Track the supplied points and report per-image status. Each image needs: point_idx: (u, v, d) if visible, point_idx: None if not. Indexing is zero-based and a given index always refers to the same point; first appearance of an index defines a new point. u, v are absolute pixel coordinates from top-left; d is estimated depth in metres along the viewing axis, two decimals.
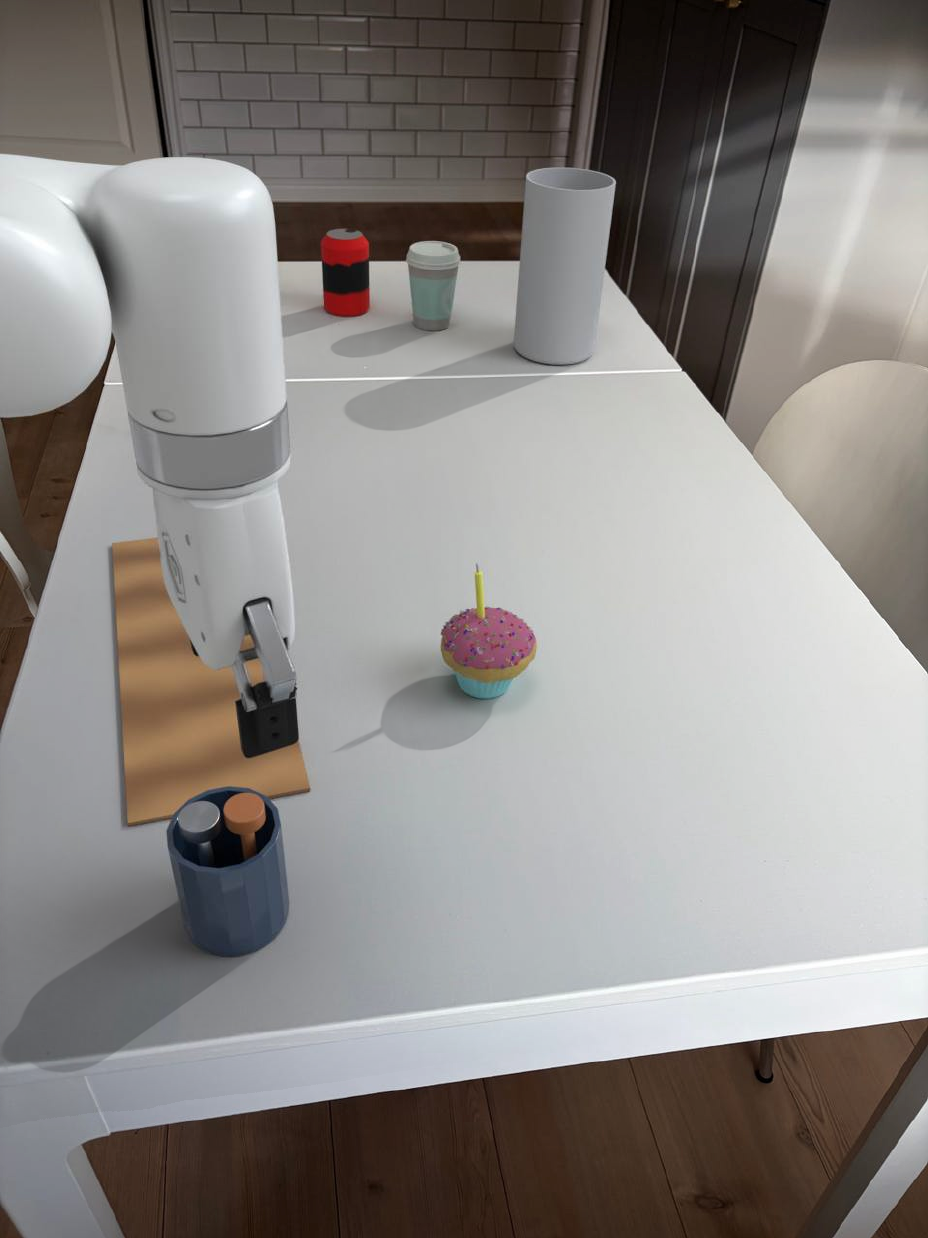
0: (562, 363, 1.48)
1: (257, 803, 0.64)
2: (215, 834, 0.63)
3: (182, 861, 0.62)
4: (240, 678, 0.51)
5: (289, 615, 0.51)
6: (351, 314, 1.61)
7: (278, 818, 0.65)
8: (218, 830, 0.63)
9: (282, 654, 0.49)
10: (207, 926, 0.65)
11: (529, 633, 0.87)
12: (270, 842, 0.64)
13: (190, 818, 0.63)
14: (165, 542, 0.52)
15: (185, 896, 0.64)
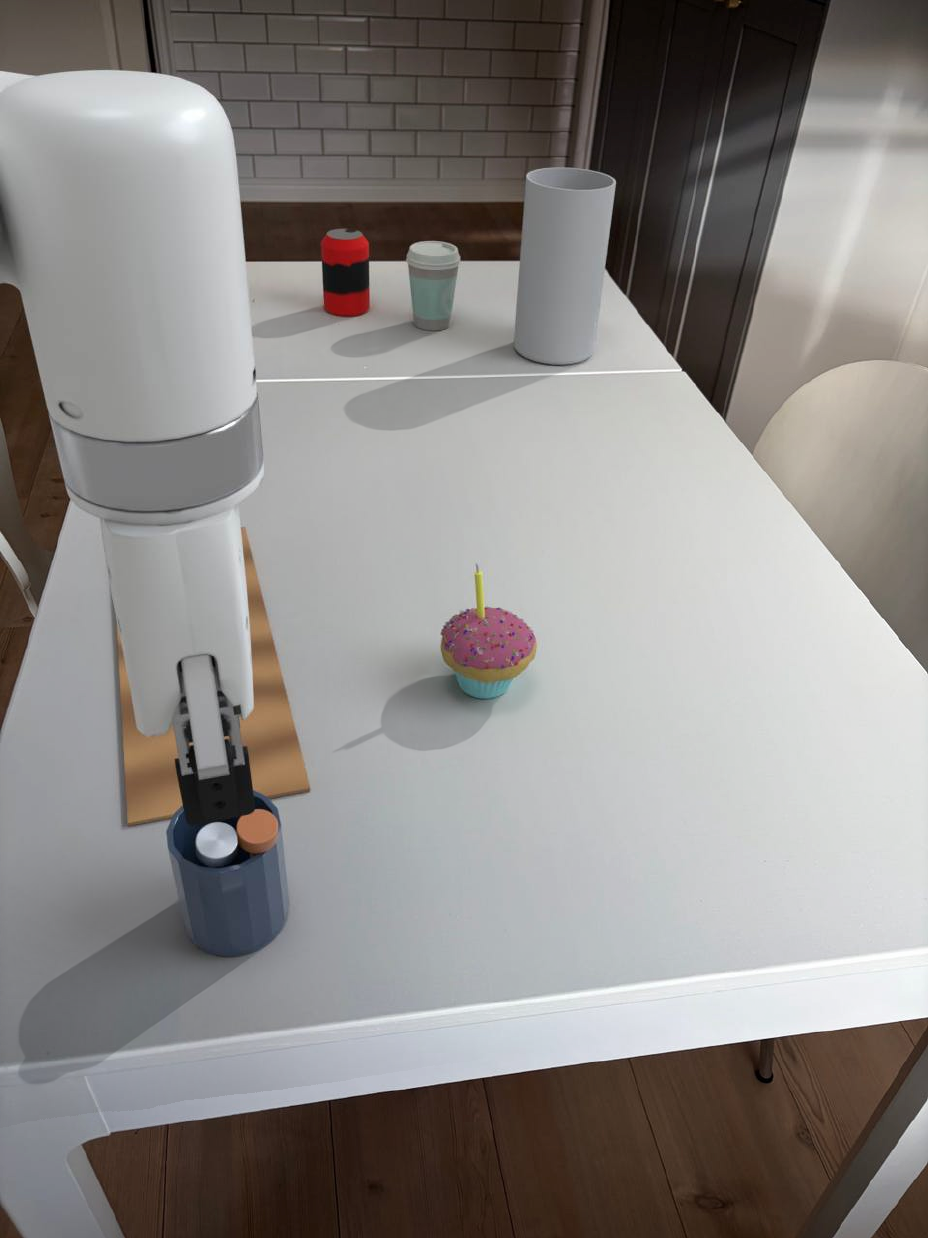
0: (562, 363, 1.48)
1: (271, 822, 0.63)
2: (232, 859, 0.62)
3: (182, 861, 0.62)
4: (177, 744, 0.42)
5: (242, 678, 0.40)
6: (351, 314, 1.61)
7: (278, 818, 0.65)
8: (235, 855, 0.62)
9: (217, 744, 0.39)
10: (207, 926, 0.65)
11: (529, 633, 0.87)
12: None
13: (208, 842, 0.62)
14: None
15: (185, 896, 0.64)
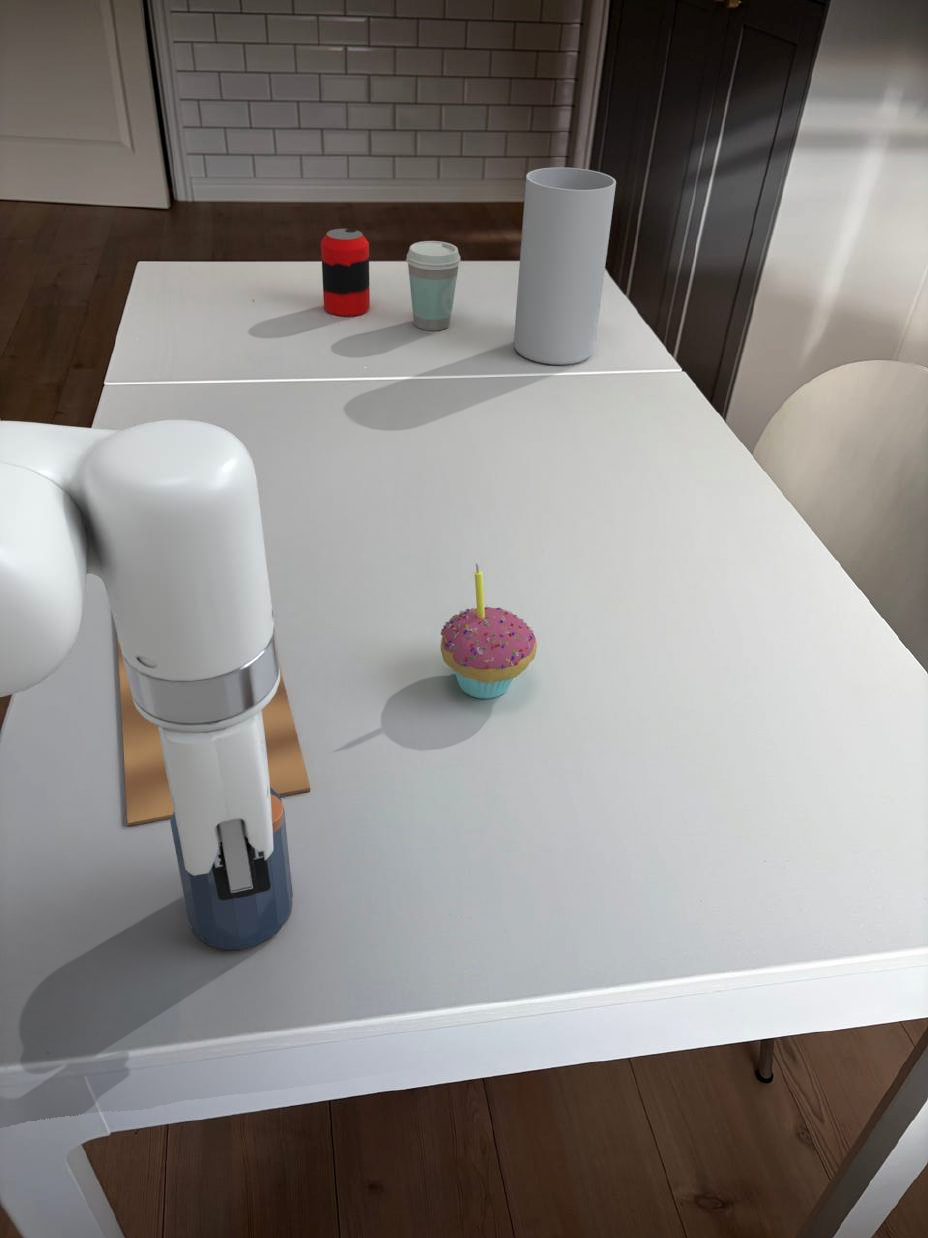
0: (562, 363, 1.48)
1: (276, 804, 0.64)
2: None
3: None
4: None
5: (264, 833, 0.52)
6: (351, 314, 1.61)
7: None
8: None
9: (244, 874, 0.53)
10: (213, 916, 0.65)
11: (529, 633, 0.87)
12: None
13: None
14: None
15: (191, 886, 0.64)
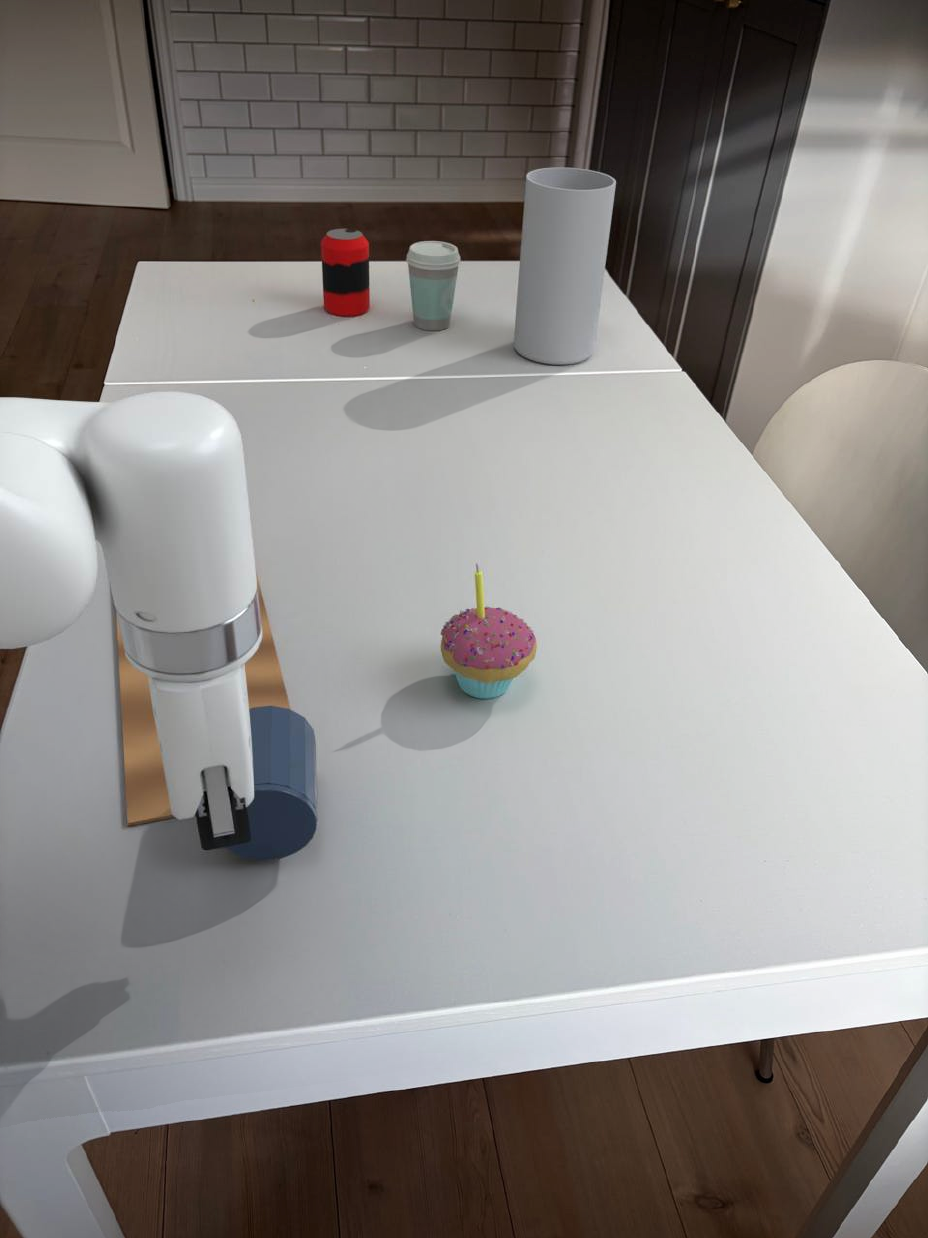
0: (562, 363, 1.48)
1: None
2: None
3: None
4: None
5: (246, 780, 0.56)
6: (351, 314, 1.61)
7: None
8: None
9: (227, 819, 0.57)
10: (269, 756, 0.71)
11: (529, 633, 0.87)
12: None
13: None
14: None
15: None
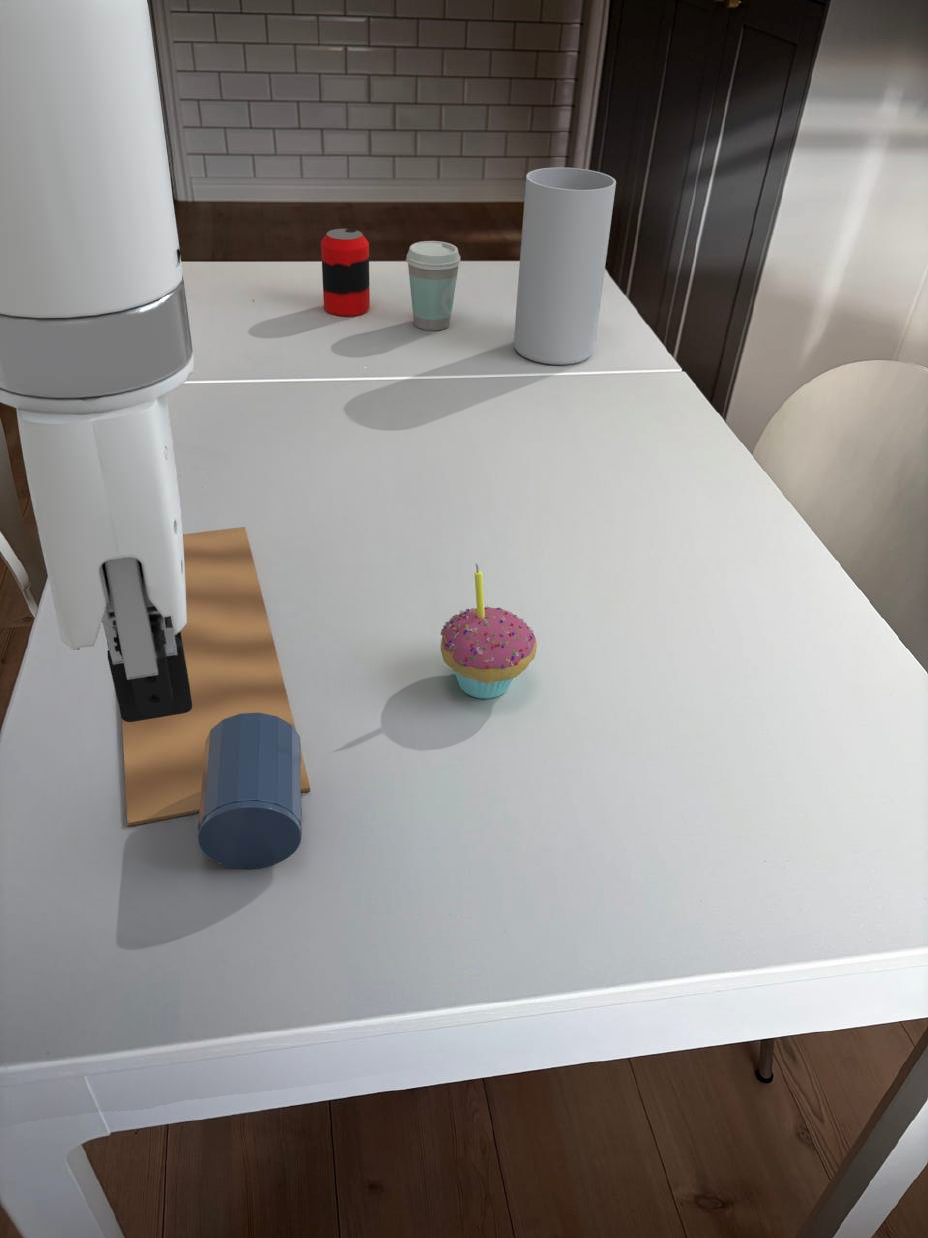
0: (562, 363, 1.48)
1: None
2: None
3: None
4: (108, 641, 0.42)
5: (171, 586, 0.38)
6: (351, 314, 1.61)
7: None
8: None
9: (145, 651, 0.39)
10: (237, 771, 0.71)
11: (529, 633, 0.87)
12: None
13: None
14: None
15: (220, 755, 0.72)
